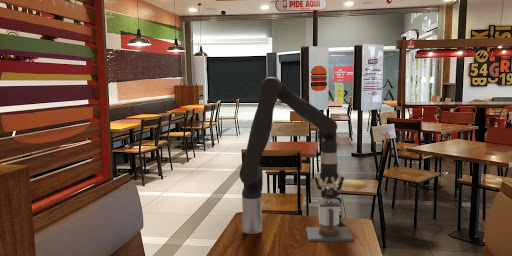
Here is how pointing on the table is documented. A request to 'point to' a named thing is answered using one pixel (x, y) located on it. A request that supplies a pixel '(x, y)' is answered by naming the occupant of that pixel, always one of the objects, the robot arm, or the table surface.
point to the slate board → (315, 236)
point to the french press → (340, 203)
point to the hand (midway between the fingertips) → (328, 197)
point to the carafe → (329, 217)
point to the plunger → (329, 193)
